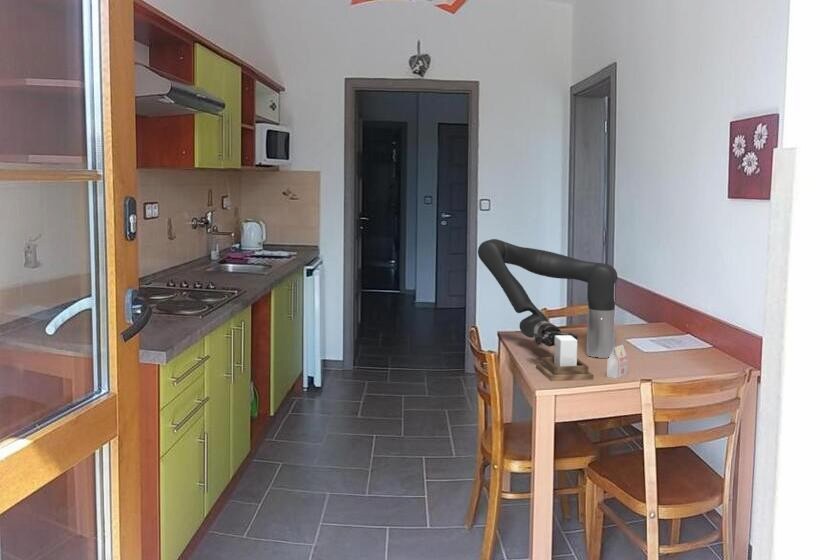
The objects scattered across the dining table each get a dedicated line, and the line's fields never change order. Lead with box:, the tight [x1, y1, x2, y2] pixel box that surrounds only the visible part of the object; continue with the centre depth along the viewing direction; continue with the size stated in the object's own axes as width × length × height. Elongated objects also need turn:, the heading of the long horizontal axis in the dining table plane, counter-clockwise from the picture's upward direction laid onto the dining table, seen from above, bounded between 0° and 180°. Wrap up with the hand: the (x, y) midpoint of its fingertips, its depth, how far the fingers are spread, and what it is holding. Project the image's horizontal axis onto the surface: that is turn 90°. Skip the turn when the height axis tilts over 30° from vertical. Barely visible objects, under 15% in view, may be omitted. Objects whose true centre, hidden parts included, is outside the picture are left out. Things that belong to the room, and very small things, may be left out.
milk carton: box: [606, 344, 628, 379], centre depth 235 cm, size 4×7×10 cm, turn 139°
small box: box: [553, 334, 578, 366], centre depth 238 cm, size 8×6×10 cm
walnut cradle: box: [535, 356, 595, 382], centre depth 238 cm, size 14×16×4 cm
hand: (562, 343), depth 240 cm, fingers open, 8 cm apart
